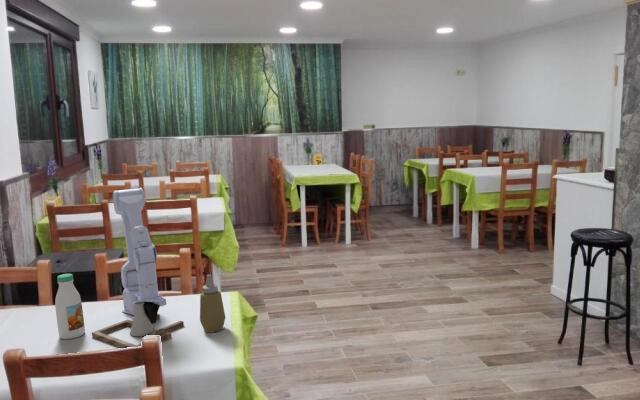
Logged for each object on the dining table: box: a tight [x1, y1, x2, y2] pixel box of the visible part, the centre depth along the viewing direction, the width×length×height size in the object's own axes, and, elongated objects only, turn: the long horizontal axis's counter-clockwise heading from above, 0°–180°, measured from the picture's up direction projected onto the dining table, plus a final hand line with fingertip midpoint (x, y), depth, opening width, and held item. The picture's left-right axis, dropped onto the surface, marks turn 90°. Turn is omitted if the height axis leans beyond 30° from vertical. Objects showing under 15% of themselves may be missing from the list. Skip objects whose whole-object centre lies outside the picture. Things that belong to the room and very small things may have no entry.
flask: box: [129, 301, 155, 337], centre depth 177 cm, size 7×7×10 cm
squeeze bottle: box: [199, 274, 226, 333], centre depth 177 cm, size 8×8×18 cm
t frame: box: [91, 313, 185, 349], centre depth 178 cm, size 23×22×2 cm
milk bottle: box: [54, 273, 86, 340], centre depth 178 cm, size 8×8×20 cm
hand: (152, 323), depth 181 cm, fingers closed, pressing on flask
